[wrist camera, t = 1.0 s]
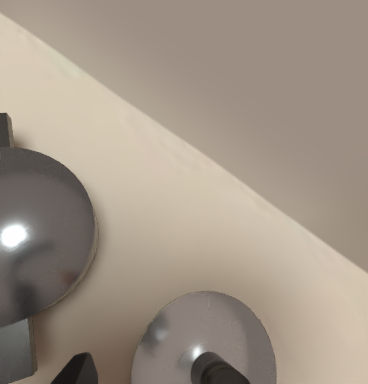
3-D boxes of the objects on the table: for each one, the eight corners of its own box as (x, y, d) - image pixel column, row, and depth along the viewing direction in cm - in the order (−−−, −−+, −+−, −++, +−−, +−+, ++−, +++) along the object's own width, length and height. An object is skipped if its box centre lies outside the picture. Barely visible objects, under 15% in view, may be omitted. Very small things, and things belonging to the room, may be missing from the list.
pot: (116, 332, 17) (116, 348, 14) (-64, 392, 14) (-126, 434, 11) (81, 132, 21) (74, 102, 17) (-69, 147, 18) (-117, 114, 14)
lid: (289, 420, 19) (342, 466, 14) (148, 497, 16) (161, 585, 11) (245, 274, 21) (279, 275, 17) (116, 315, 18) (117, 329, 14)
